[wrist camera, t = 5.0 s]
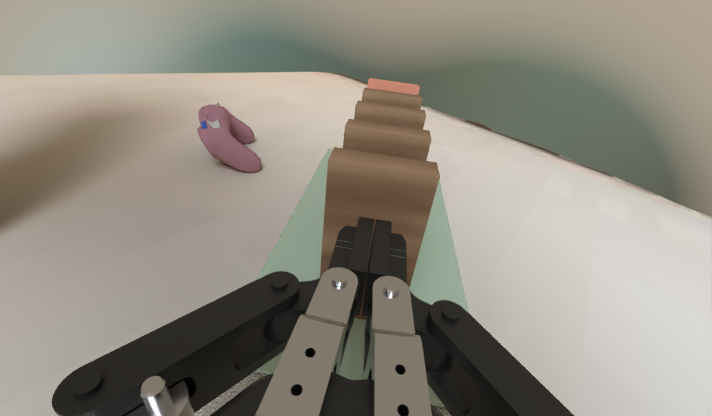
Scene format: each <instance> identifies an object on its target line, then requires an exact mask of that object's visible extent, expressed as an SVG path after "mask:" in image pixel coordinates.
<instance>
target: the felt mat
mask: <svg viewBox="0 0 712 416" xmlns="http://www.w3.org/2000/svg"><path fill="white" fill-rule="evenodd" d="M332 151H333V150H330V149H328V151H327V152H326V154H325V156H324V158H323V160H322V162H321V163H320V165H319V167H318V169H317V171H316V173H315V174H314V176H313V178H312V180H311V182H310V183H309V185H308V187H307V189H306V191H305V193H304V194H303V196H302V198H301V200H300V202H299V203H298V205H297V207H296V209H295V211H294V213H293V214H292V216H291V218H290V220H289V222H288V223H287V225H286V227H285V229H284V231H283V233H282V234H281V236H280V238H279V240H278V242H277V244H276V245H275V247H274V249H273V251H272V253H271V254H270V256H269V258H268V260H267V262H266V264H265V265H264V267H263V269H262V271H261V273H260V274H259V276H258V278H257V280H258V279H260V278H262V277H264V276H266V275H268V274H270V273H272V272H276V271H286V272H289V273H292V274H294V275H295V276H296V277H297V278H298V280H299V282H301V281H312V280H316V279H318V278H320V268H321V254H322V239H323V225H324V211H325V196H326V182H327V168H328V159H329V157H330V155H331V153H332ZM409 289H410V291H411V293H412V294H413V295H414V296H416V297H417V298H418V299H420V300H422V301H424V302H426V303H429V304H431V305H432V304H433V303H434V302H436V301H439V300H449V301H452V302H455V303H457V304H459V305H460V306H461V307H463V308H464V309H465V310H466V311H467V312H468V308H467V303H466V299H465V294H464V290H463V285H462V281H461V276H460V272H459V267H458V263H457V258H456V254H455V249H454V245H453V240H452V236H451V231H450V226H449V222H448V217H447V213H446V208H445V204H444V199H443V195H442V190H441V186H440V181H439V182H438V186H437V189H436V193H435V197H434V200H433V204H432V208H431V211H430V215H429V219H428V222H427V226H426V229H425V233H424V237H423V240H422V244H421V248H420V251H419V255H418V259H417V262H416V266H415V269H414V273H413V277H412V280H411V284H410V288H409ZM468 313H469V312H468ZM365 324H366V320H363V319H357V318H354V323H353V326H352V328H351V330H350V335H349V339H348V343H347V347H346V350H345V354H344V358H343V362H342V366H341V370H340V373H339V375H341V376H343V377H345V378H348V379H350V380H362V363H363V336H364V329H365ZM283 352H284V351H283ZM283 352H282V353H280V354H279V355H277V356H276V357H274V358H273V359H271V360H270V361H269V362H267V363H266V364H264V365H263V366H261V367H260V368H258V369H257V370H256V371H254V372H257V373H262V374H267V375H270V374H273V373H274V372H275V370H276V368H277V366H278V363H279V361H280V359H281V357H282V354H283ZM428 391H429V398H430V404H431V405H433V406H439V407H444V408H446V407H445V406H444V405H443V403H442V402H441V401H440V399H439V398H438V397H437V395H436V394H435V393H434V391H433V390H432V389H431V387H430V386H429V385H428Z"/></svg>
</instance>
